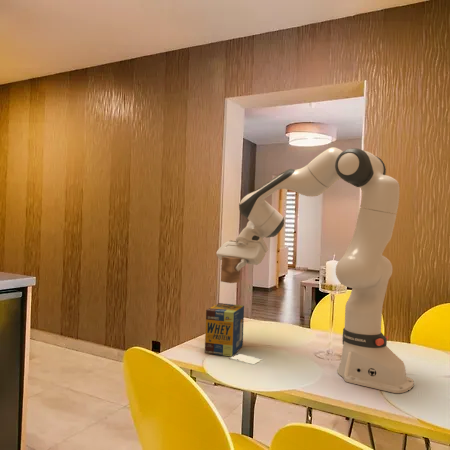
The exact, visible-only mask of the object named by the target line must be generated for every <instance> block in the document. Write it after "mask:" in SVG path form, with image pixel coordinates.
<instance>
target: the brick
mask: <svg viewBox="0 0 450 450" xmlns="http://www.w3.org/2000/svg"><path fill="white" fill-rule="evenodd" d="M240 262H241V258H235V257H222V260H221V265H220V267H221V268H220V282H221V283H222V282H223V283H227V284H235V283H240V279H241V269H240V270H239V271H235V269H234V267H235V265H236V264H237V265H238V264H239V263H240Z"/></svg>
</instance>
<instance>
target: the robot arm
mask: <svg viewBox="0 0 450 450" xmlns="http://www.w3.org/2000/svg"><path fill="white" fill-rule="evenodd" d="M386 173H387V167H386V164H385V162H384V161H383V160H382V159H381V158H380V157H379V156H377V155H374V154H373V153H372V152H370V151H367V150H365V149H362V148H355V147H353V148H352V147H351V148H348V149H345V150H342V149H340V148H338V147H335V146H334V147H329V148H327V149H325V150H324V151H322V152H321V153H319V154H318V155H317V156H316V157H314V158H313V159H312V160H311V161H310V162H308V164H306V165H305V166H303V167H301V168H298V169H293V168H290V169H287V170H285V171H282V172H281V173H279V174H278V175H277V176H275V177H273V178H272V179H270V180H269V181H267V182H266V183H264V184H263V185H262V186H260V187H258V188H257V189H255V190H254V191H251V192H249V193H247V194H246V195H245V196H244V197H243V198H242V199H241V200H240V202H239V204H238V209H239V214H240V215H242V216H243V217H244V218H245V219H247V220H248V221H247V223H246V226H245V227H244V228H243V229H242V230H241V231H240V233H239V234H238V236H237V237H236V238H235V240H231V239H230V240H229V241H226V242H224V243H223V244H222V245H221V246H220V247H219V248H218V250H217V251H216V256H217V258H218V260H219V261H222V257H235V258H241V262H240V263H239V264H238V265H237V264H236V265H235V267H234V269H235V271H239V270H240V271H241V269H242V268H243V267H245V266H247V265H255V266H257V265H259V264H261V263H262V261H263V260H264V258H265V257H266V253H268V251H269V248H268V245H267V244H266V242H265V241H264V238H266V239H267V238H273V237H276V236H277V235H278V234H279V233H280V231H281V230H282V229H283V227H284V225H285V218H284V216H283V215H282V213H280V212H279V211H278V210H277V209H276V208H275V207H274V206H272V205H271V204H270V203H269V202H268V201H267V200H266V199H267V198H268V197H269V196H271V195H272V194H274V193H276V192H277V191H279V190H289V191H293V192H295V193H297V194H300V195H302V196H306V197H310V198H311V197H318V196H320V195H322V194H323V193H325V192H326V191H327V190H328V189H330V188H331V187H332V186H333V185H334V184H335V183H336V182H337V181H339V180H343V181H344V182H346V183H348V184H349V185H352V186H355V187H356V188H360V190H361V193H362V195H361V202H360V206H359V209H358V211H359V212H358V215H357V219H356V222H355V223H356V224H355V228H354V232H353V234H352V237H351V239H350V242H349V243H348V245H347V248H346V249H345V252H344V254H343V255H342V257H341V258H340V259H339V260H338V261H337V264H336V265H335V276H336V278H337V280H338V282H339V283H340V284H341V285H343V286H344V287H347V288H349V289H351V292H350V295H349V298H348V299H347V301H346V302H345V311H344V327H343V329H342V339H341V340H342V351H341V358H340V362H339V365H338V368H337V374H338V375H339V376H340V377H342V378H343V380H344V381H345V382H347V383H350V384H355V385H359V386H362V387H363V386H364V387H368V388H372V389H374V390H375V389H376V390H380V391H384V392H389V393H393V394H402V393H406V392H409V391H411V388H412V387H413V388H414V386H415V383H414V380H413V379H412V378H411V377H408V376H407V371H406V370H407V369H406V365H405V363H404V360H402V359H401V358H400V357H399V356H398V355H397V354H395V352H393V350H392V349H390V348H389V347H388V346H387V344H388V340H389V335H386V336H385V335H384V334H383V333H382V317H383V316H382V315H383V307H384V306H383V305H384V301H385V296H386V293H387V288H388V284H389V280H390V278H391V277H392V274H393V264H392V262H391V260H390V259H388V258H387V257H386V256H385V255H383V253H384V251H385V249H386V247H387V245H388V244H389V242H390V241H391V239H392V237H393V232H394V227H395V225H396V224H395V223H396V219H397V214H398V210H399V209H398V208H399V204H400V203H399V202H400V190H401V189H400V183H399V181H398V180H397V179H396V178H394V177H392V176H390V175H386ZM413 385H414V386H413ZM413 388H412V389H413ZM408 390H409V391H408Z"/></svg>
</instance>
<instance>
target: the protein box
mask: <svg viewBox="0 0 450 450" xmlns="http://www.w3.org/2000/svg"><path fill="white" fill-rule="evenodd" d="M244 317H245V305H241V304H233V303H232V304H231V303H223V302H219V303H217V304H214V305H213V306H211V307H209V308H208V309H206V310H205V333H204V337H205V339H204V354H208V355H215V356H216V355H219V356H225V357H232V356H234V355H236V354H237V352H238V351H239V350H240V349H241V348H242V347H243V346H244V343H243V342H244V320H245V318H244Z"/></svg>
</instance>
